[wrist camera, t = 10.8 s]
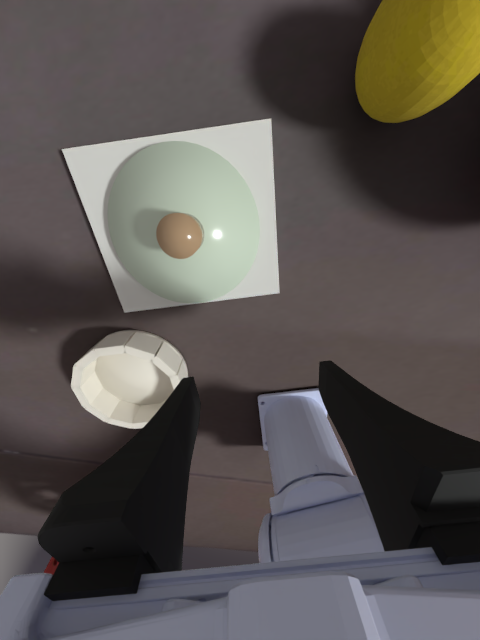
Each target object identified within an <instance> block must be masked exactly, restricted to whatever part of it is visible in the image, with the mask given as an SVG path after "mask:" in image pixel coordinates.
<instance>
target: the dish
mask: <svg viewBox="0 0 480 640" xmlns="http://www.w3.org/2000/svg"><path fill="white" fill-rule="evenodd" d="M187 377H188V368H187V364H186V362H185V359H184V358H183V356H182V354H181V353H180V352H179V350H178V349H177V348H176V347H175V346H174V345H172V344H171V343H170V342H169V341H167V340H165V339H164V338H162V337H160V336H158V335H155V334H153V333H150V332H146V331H141V330H122V331H117V332H114V333H111V334H109V335H107V336H106V337H104V338H103V339H101V340H100V341H99V342H98V343H97V344H96V345H95V346H93V347H92V348H91V349H90V350H89V351H88V352H87V353H86V354H85V355H84V356H82V357H81V358H80V359H79V360H78V361H77V362H76V363H75V364H74V366H73V373H72V381H71V386H72V387H71V388H72V390H73V392H74V393H75V395H76V397H77V398H78V400H79V402H80V403H81V405H82V407H85V408H84V409H86V410H87V411H89V412H90V413H92V414H93V415H95V416H96V417H98V418H99V419H101V420H102V421H104V422H106V421H107V423H109V424H113V425H117V426H121V427H125V428H130V429H132V427H133V429H139V428H143V427H144V426H145V425H146V424H147V423H148V422H149V421H150V420H151V418H152V417H153V416H154V415H155V414H156V412H157V411H158V410H159V409H160V408H161V406H162V405H163V404H164V403H165V401H166V400H167V399H168V397H169V396H170V395H171V393H172V392H173V391H174V389H175V388H176V387H177V385H178V384H179V382H180V381H181V380H182V379H183V378H187Z"/></svg>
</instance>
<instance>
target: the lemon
mask: <svg viewBox="0 0 480 640" xmlns="http://www.w3.org/2000/svg"><path fill="white" fill-rule="evenodd" d="M479 73H480V0H382V2H381V4H380V5H379V7H378V9H377V11H376V13H375V15H374V17H373V19H372V21H371V23H370V25H369V26H368V29H367V31H366V33H365V36H364V38H363V41H362V45H361V48H360V51H359V54H358V58H357V65H356V72H355V85H356V93H357V96H358V100H359V103H360V104H361V106H362V108H363V110H364V111H365V112H366V113H367V114H368V115H369V116H370V117H371V118H373V119H375V120H378V121H380V122H384V123H399V122H403V121H407V120H411V119H415V118H417V117H420V116H422V115H424V114H426V113H428V112H429V111H431V110H433V109H435V108H436V107H438V106H440V105H442V104H443V103H445V102H446V101H448V100H449V99H450V98H452V97H453V96H454V95H455V94H457V93H458V92H459V91H460V90H461V89H462V88H464V87H465V86H466V85H467V84H468V83H469V82H470V81H472V80H473V79H474V78H475V77H476V76H477V75H478V74H479Z"/></svg>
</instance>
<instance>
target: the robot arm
mask: <svg viewBox="0 0 480 640" xmlns="http://www.w3.org/2000/svg"><path fill="white" fill-rule="evenodd" d="M200 404H201V403H200V399H199V395H198V392H197V388H196V384H195V381H194V377H187V378H183V379H182V380H181V381H180V382H179V384H178V385H177V387H176V388H175V389H174V391H173V392H172V393H171V395H170V396H169V397H168V399H167V400H166V401H165V403H164V404H163V405H162V406H161V408H160V409H159V410H158V411H157V412H156V414H155V415H154V416H153V417H152V418H151V420H150V421H149V422H148V423H147V424H146V425H145V426H144V427H143V428H142V429H141V430H140V431H139V432H138V433H137V434H136V435H135V436H134V437H133V438H132V439H131V440H130V441H129V442H128V443H127V444H126V445H124V446H123V447H122V448H121V449H120V450H119V451H118V452H117V453H116V454H114V455H113V456H112V457H111V458H109V459H108V460H107V461H106V462H105V463H103V464H102V465H101V466H99V467H98V468H97V469H96V470H94V471H93V472H92V473H90V474H89V475H87V476H86V477H85V478H83V479H82V480H80V481H79V482H77V483H76V484H75V485H73V486H72V487H70V488H69V489H67V490H66V491H64V492H63V494H62V495H61V497H60V498H59V500H58V502H57V503H56V505H55V507H54V508H53V510H52V512H51V513H50V515H49V517H48V518H47V520H46V522H45V523H44V525H43V527H42V528H41V530H40V531H39V534H38V541H39V544H40V545H41V547H42V548H43V549H44V550H46V551H47V552H48V553H49V554H50V555H51V556H52V557H53V558H55V559H56V560H57V561H58V562H59V564H58V566H57V568H56V570H55V572H54V574H53V575H52V574H49V573H36V574H25V575H15V576H14V577H12V578H11V580H10V581H9V583H8V584H7V586H6V588H5V589H4V591H3V592H2V594H1V596H0V640H480V442H478V441H476V440H473V439H470V438H467V437H465V436H462V435H459V434H457V433H454V432H452V431H449V430H447V429H444V428H442V427H440V426H437V425H435V424H433V423H430V422H428V421H426V420H424V419H422V418H420V417H418V416H416V415H414V414H412V413H409V412H408V411H406V410H404V409H402V408H400V407H398V406H396V405H395V404H393V403H391V402H389V401H387V400H386V399H384V398H382V397H381V396H379V395H378V394H376V393H375V392H373V391H371V390H370V389H368V388H367V387H365V386H364V385H363V384H361V383H360V382H358V381H357V380H356V379H354V378H353V377H351V376H350V375H349V374H347V373H346V372H345V371H344V370H342V369H341V368H340V367H338V366H337V365H336V364H334V363H333V362H332V361H323V362H320V366H319V388H315V389H306V390H297V391H289V392H280V393H271V394H262V395H259V396H258V406H259V414H260V423H261V431H262V440H263V448H264V450H268V453H269V460H270V467H271V473H272V480H273V487H274V494H275V496H274V497H271V498H270V507H271V513H268V514H266V515H265V516H264V518H263V521H262V525H261V527H260V531H259V540H258V549H259V563H257V564H246V565H236V566H226V567H215V568H204V569H193V570H184V571H182V554H183V538H184V525H185V512H186V501H187V490H188V481H189V472H190V465H191V459H192V454H193V449H194V444H195V439H196V435H197V429H198V424H199V418H200ZM327 412H328V414H329V416H330V418H331V420H332V422H333V424H334V426H335V427H336V429H337V431H338V433H339V435H340V437H341V439H342V441H343V443H344V445H345V447H346V449H347V451H348V454H349V456H350V458H351V461H352V463H353V466H354V468H355V471H356V473H357V476H358V478H357V476H353V473H352V471H351V469H350V467H349V465H348V463H347V460H346V458H345V456H344V454H343V452H342V449H341V447H340V445H339V443H338V441H337V439H336V436H335V434H334V432H333V430H332V428H331V425H330V423H329V421H328V419H327ZM358 479H359V480H358ZM359 481H360V482H359ZM360 484H361V485H360ZM361 486H362V487H361Z"/></svg>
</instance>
